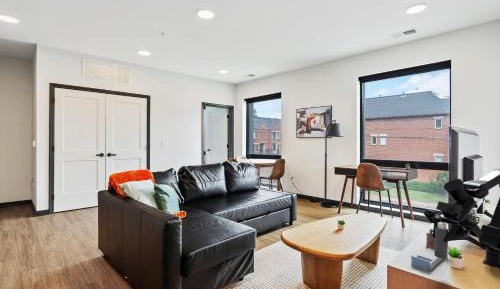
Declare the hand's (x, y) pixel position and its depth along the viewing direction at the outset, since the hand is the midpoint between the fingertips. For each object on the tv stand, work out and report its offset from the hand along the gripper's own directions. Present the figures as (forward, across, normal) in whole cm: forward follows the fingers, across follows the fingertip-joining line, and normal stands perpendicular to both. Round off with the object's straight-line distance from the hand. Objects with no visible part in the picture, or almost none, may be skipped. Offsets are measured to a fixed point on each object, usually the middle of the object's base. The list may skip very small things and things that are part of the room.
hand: (438, 239), depth 100 cm
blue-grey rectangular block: (+4, -9, +15) cm, 18 cm away
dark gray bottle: (+4, 0, +6) cm, 7 cm away
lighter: (-5, -16, +24) cm, 29 cm away
